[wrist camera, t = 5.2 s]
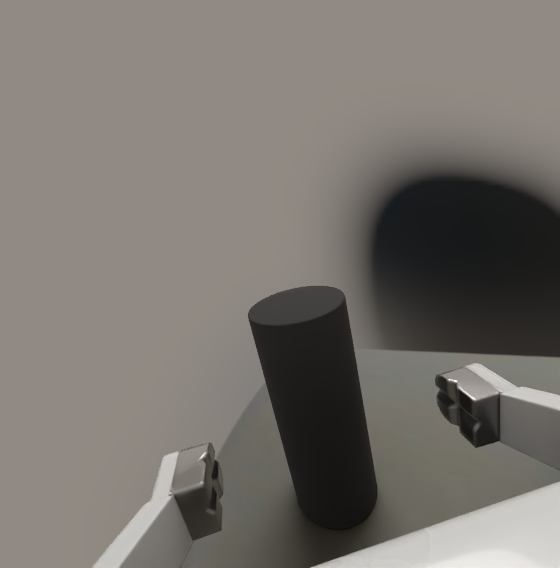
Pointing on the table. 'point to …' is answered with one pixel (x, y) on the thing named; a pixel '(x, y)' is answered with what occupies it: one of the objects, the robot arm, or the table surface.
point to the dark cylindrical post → (317, 401)
